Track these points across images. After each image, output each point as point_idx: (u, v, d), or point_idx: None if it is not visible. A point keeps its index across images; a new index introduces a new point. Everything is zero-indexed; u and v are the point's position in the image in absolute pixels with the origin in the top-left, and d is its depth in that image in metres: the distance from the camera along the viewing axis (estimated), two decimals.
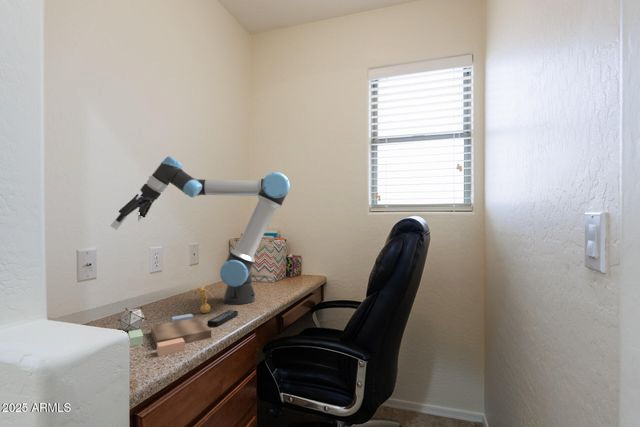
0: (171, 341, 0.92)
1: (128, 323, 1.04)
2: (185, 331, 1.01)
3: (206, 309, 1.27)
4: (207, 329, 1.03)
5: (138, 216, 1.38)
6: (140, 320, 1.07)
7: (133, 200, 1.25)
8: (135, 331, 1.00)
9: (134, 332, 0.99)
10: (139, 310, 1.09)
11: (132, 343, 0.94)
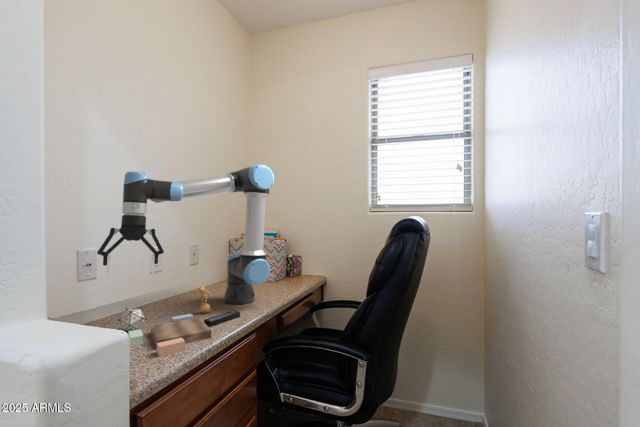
0: (171, 341, 0.92)
1: (128, 323, 1.04)
2: (185, 331, 1.01)
3: (206, 309, 1.27)
4: (207, 329, 1.03)
5: (110, 257, 1.06)
6: (140, 320, 1.07)
7: None
8: (135, 331, 1.00)
9: (134, 332, 0.99)
10: (139, 310, 1.09)
11: (132, 343, 0.94)
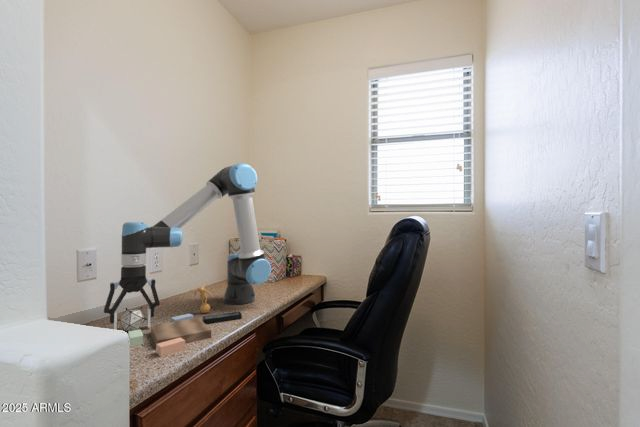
0: (171, 341, 0.92)
1: (128, 323, 1.04)
2: (185, 331, 1.01)
3: (206, 309, 1.27)
4: (207, 329, 1.03)
5: (116, 314, 1.05)
6: (140, 320, 1.07)
7: None
8: (135, 331, 1.00)
9: (134, 332, 0.99)
10: (139, 310, 1.09)
11: (132, 343, 0.94)
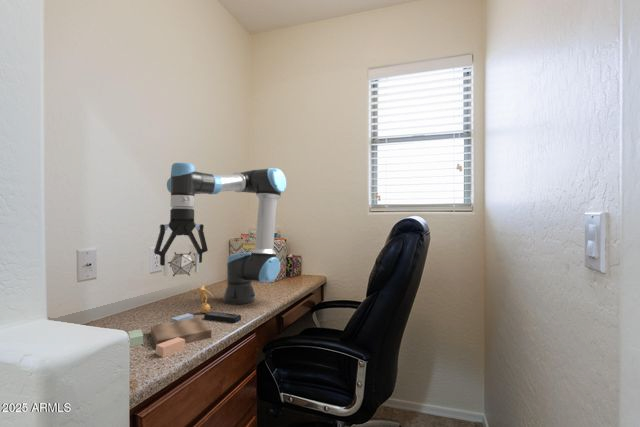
0: (170, 341, 0.92)
1: (179, 266, 1.01)
2: (185, 331, 1.01)
3: (206, 309, 1.27)
4: (207, 329, 1.03)
5: None
6: (190, 264, 1.03)
7: None
8: (135, 331, 1.00)
9: (134, 332, 0.99)
10: (188, 254, 1.05)
11: (132, 343, 0.94)
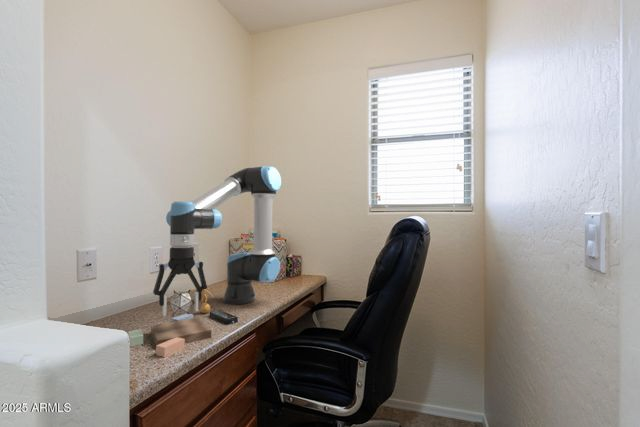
0: (170, 341, 0.92)
1: (178, 306, 1.00)
2: (185, 331, 1.01)
3: (206, 309, 1.27)
4: (207, 329, 1.03)
5: None
6: (189, 303, 1.03)
7: None
8: (135, 331, 1.00)
9: (134, 332, 0.99)
10: (187, 293, 1.05)
11: (132, 343, 0.94)
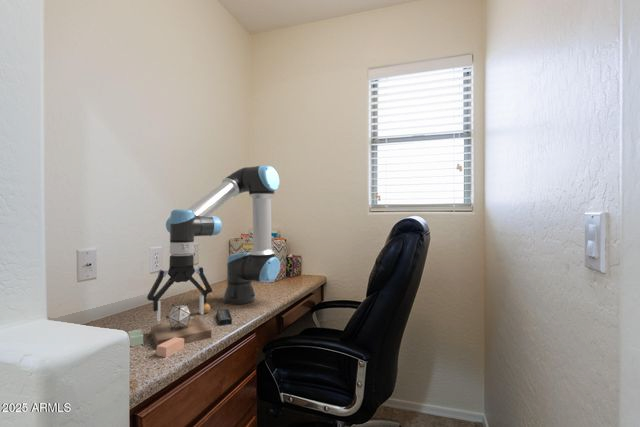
0: (170, 341, 0.92)
1: (177, 320, 1.00)
2: (185, 331, 1.01)
3: (206, 309, 1.27)
4: (207, 329, 1.03)
5: None
6: (188, 317, 1.03)
7: (203, 275, 1.08)
8: (135, 331, 1.00)
9: (134, 332, 0.99)
10: (186, 306, 1.05)
11: (132, 343, 0.94)
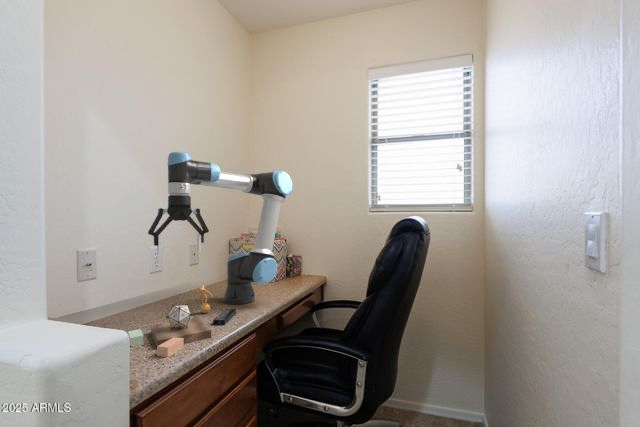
0: (170, 341, 0.92)
1: (177, 320, 1.00)
2: (185, 331, 1.01)
3: (206, 309, 1.27)
4: (207, 329, 1.03)
5: None
6: (188, 317, 1.03)
7: None
8: (135, 331, 1.00)
9: (134, 332, 0.99)
10: (186, 306, 1.05)
11: (132, 343, 0.95)
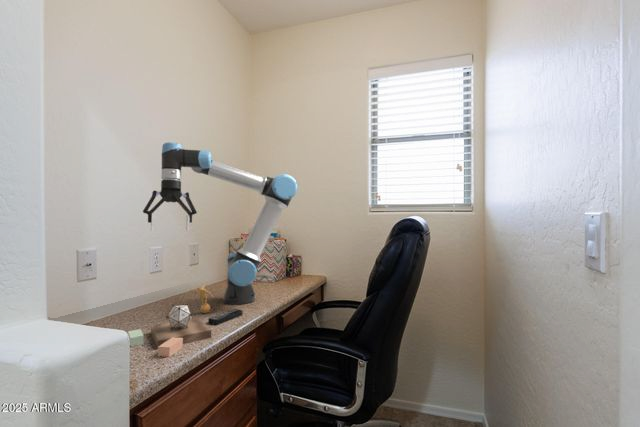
0: (170, 341, 0.92)
1: (177, 320, 1.00)
2: (185, 331, 1.01)
3: (206, 309, 1.27)
4: (207, 329, 1.03)
5: None
6: (188, 317, 1.03)
7: None
8: (135, 331, 1.00)
9: (134, 332, 0.99)
10: (186, 306, 1.05)
11: (133, 343, 0.95)
